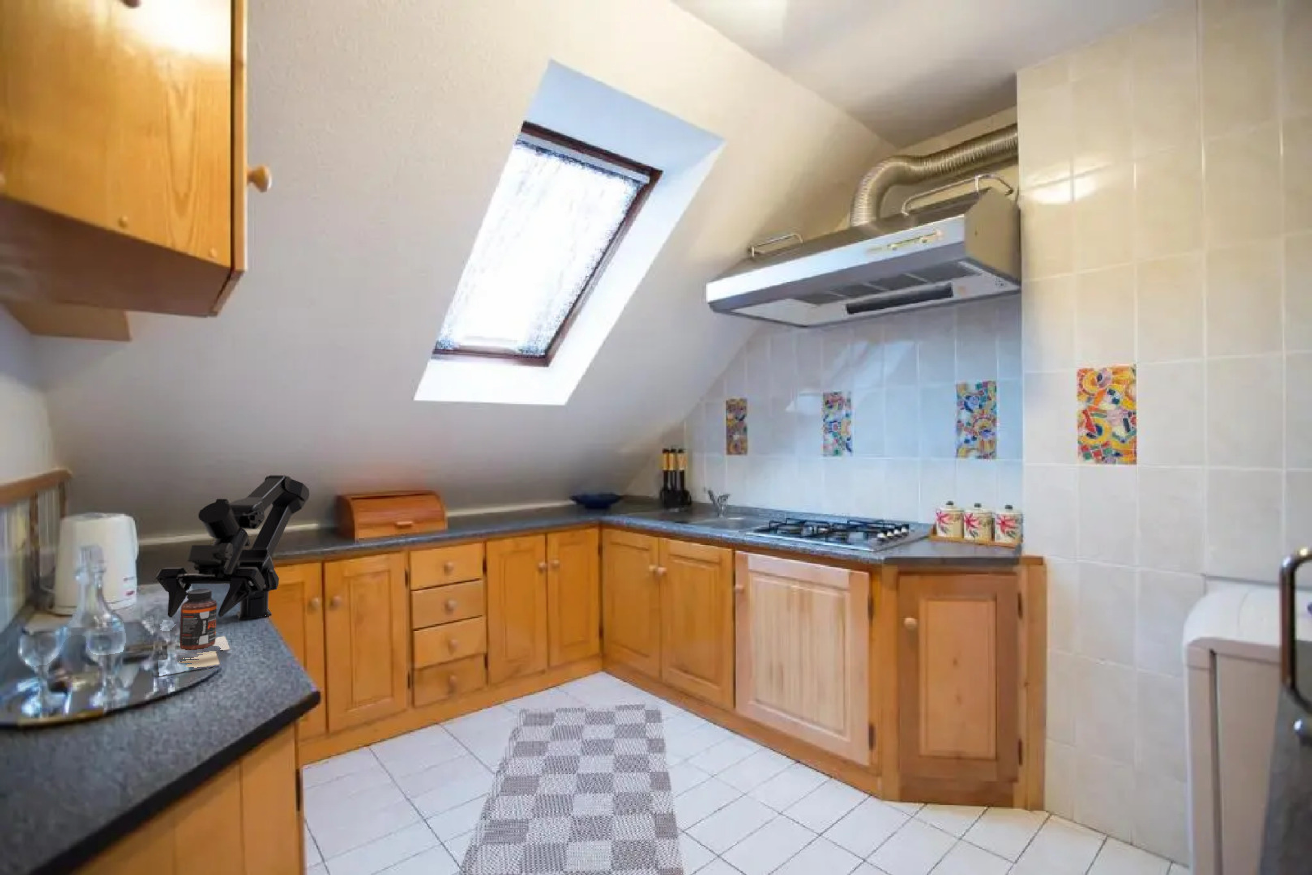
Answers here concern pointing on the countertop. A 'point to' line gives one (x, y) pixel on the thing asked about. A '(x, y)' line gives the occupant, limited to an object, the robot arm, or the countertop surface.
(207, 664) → the beech pad
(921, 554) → the countertop surface
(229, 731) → the countertop surface
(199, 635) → the supplement bottle
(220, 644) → the cream flat square slab
